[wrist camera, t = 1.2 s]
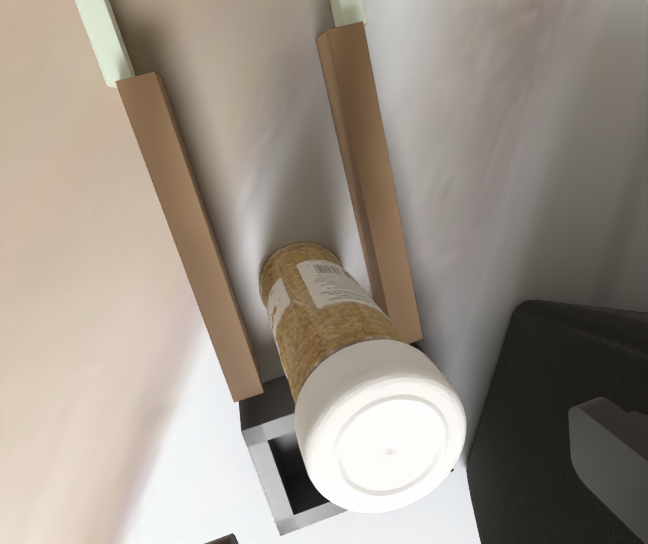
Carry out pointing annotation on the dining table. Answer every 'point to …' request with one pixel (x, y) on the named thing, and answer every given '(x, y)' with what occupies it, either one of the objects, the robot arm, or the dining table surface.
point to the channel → (363, 181)
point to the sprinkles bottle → (357, 387)
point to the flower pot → (553, 422)
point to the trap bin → (282, 458)
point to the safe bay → (113, 50)
